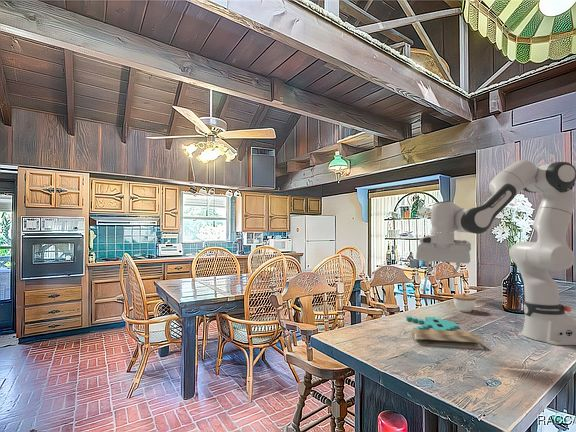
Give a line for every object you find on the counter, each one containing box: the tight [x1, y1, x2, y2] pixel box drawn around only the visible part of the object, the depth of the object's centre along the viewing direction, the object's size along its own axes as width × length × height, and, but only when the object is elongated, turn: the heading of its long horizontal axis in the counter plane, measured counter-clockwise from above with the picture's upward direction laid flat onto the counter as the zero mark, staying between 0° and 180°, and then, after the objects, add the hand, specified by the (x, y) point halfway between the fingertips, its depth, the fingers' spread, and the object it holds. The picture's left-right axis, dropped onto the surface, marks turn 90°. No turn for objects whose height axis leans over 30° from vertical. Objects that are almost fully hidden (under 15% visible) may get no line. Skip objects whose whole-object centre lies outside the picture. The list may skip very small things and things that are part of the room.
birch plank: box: [414, 333, 483, 344], centre depth 123 cm, size 23×6×2 cm, turn 75°
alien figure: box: [405, 315, 460, 331], centre depth 145 cm, size 20×2×20 cm
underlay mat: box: [411, 332, 485, 350], centre depth 126 cm, size 24×13×1 cm, turn 75°
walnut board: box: [411, 328, 477, 339], centre depth 129 cm, size 23×6×2 cm, turn 75°
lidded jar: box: [452, 292, 477, 313], centre depth 170 cm, size 11×11×9 cm
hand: (442, 272), depth 130 cm, fingers open, 8 cm apart
